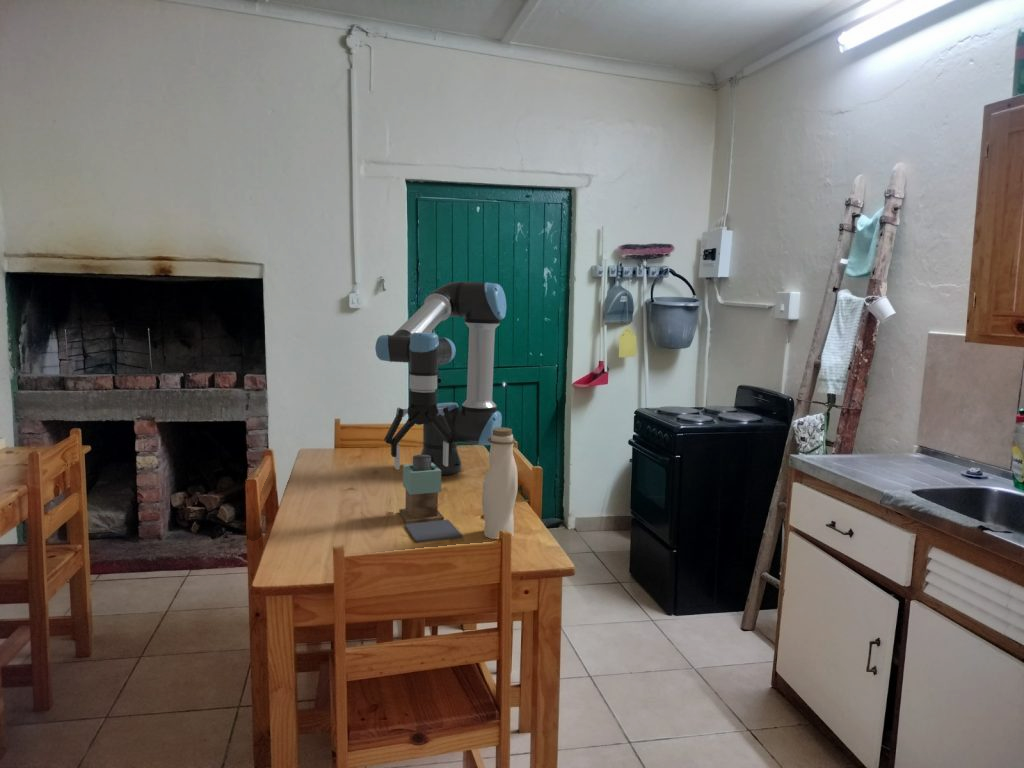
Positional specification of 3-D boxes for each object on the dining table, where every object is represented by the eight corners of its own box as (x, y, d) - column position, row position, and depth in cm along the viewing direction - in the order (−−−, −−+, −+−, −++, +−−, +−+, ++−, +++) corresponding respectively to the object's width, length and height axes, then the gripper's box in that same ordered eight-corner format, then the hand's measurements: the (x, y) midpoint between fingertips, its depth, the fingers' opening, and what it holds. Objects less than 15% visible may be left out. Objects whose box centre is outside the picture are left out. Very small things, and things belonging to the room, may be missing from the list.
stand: (433, 509, 195) (434, 451, 192) (443, 520, 185) (444, 460, 183) (399, 512, 191) (399, 453, 188) (407, 524, 182) (408, 463, 179)
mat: (448, 521, 185) (448, 519, 185) (461, 537, 174) (461, 535, 174) (404, 526, 180) (404, 524, 180) (416, 542, 169) (416, 540, 169)
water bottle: (480, 526, 182) (483, 424, 178) (513, 526, 183) (517, 424, 179) (481, 540, 172) (485, 432, 168) (517, 540, 173) (521, 433, 169)
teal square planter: (432, 483, 192) (432, 462, 192) (440, 492, 185) (441, 470, 184) (402, 485, 189) (403, 464, 188) (410, 494, 181) (410, 473, 181)
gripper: (462, 387, 191) (460, 460, 194) (374, 388, 182) (373, 466, 184) (471, 391, 184) (469, 467, 187) (379, 393, 175) (378, 473, 178)
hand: (421, 466), depth 186 cm, fingers open, 13 cm apart
